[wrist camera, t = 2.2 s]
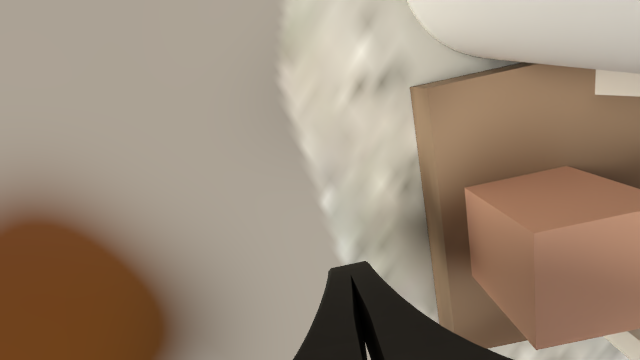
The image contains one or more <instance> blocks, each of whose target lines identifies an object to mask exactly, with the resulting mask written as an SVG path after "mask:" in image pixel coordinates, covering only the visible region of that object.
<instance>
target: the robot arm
mask: <svg viewBox="0 0 640 360" xmlns="http://www.w3.org/2000/svg"><path fill="white" fill-rule="evenodd" d="M365 343H366V346H367V349H368V352H369V354H370V358H371V360H513V359H510V358H507V357H505V356H502V355H500V354H497V353H495V352H493V351H490V350H488V349H486V348H484V347H481V346H479V345H477V344H475V343H473V342H471V341H469V340H467V339H465V338H463V337H461V336H459V335H457V334H455V333H453V332H452V331H450V330H448V329H446V328H444V327H443V326H441V325H439V324H438V323H436V322H435V321H433V320H432V319H430V318H429V317H427V316H426V315H424V314H423V313H422V312H420V311H419V310H417V309H416V308H415V307H414V306H412V305H411V304H410V303H408V302H407V301H406V300H405V299H404V298H402V297H401V296H400V295H399V294H398V293H397V292H396V291H394V290H393V289H392V288H391V287H390V286H389V285H388V284H387V283H386V282H385V281H384V280H383V279H382V278H381V277H380V276H379V275H378V274H377V273H376V272H375V270H374V269H373V268H372V267H371V265H370V264H369V263H368V262H366V261H363V262H359V263H354V264H349V265H345V266H340V267H335V268H331V269H330V271H329V272H328V279H327V284H326V288H325V291H324V294H323V298H322V300H321V303H320V306H319V309H318V312H317V314H316V316H315V319H314V321H313V323H312V326H311V328H310V330H309V332H308V334H307V336H306V338H305V340H304V342H303V343H302V345H301V347H300V349H299V351H298V352H297V354H296V356H295V357H294V359H293V360H367V354H366V346H365Z"/></svg>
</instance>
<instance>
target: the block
mask: <svg viewBox="0 0 640 360" xmlns="http://www.w3.org/2000/svg"><path fill="white" fill-rule="evenodd" d="M465 199H466V211H467V223H468V235H469V246H470V258H471V270H472V276H473V278H474V279H475V280H476V281H477V282H478V283H479V284H480V286H481V287H482V288H483V289H484V290H485V291H486V293H487V294H488V295H489V296H490V297H491V298H492V299H493V301H494V302H495V303H496V304H497V305H498V306H499V308H500V309H501V310H502V311H503V312H504V313H505V314H506V316H507V317H508V318H509V319H510V320H511V321H512V323H513V324H514V325H515V326H516V327H517V328H518V329H519V331H520V332H521V333H522V334H523V335H524V336H525V338H526V339H527V340H528V341H529V342H530V343H531V344H532V346H533V347H534V348H535V349H536V350H538V349H543V348H548V347H553V346H557V345H562V344H567V343H572V342H577V341H582V340H587V339H591V338H596V337H601V336H606V335H611V334H616V333H621V332H625V331H630V330H635V329H640V189H638V188H635V187H632V186H628V185H625V184H622V183H619V182H616V181H613V180H610V179H606V178H603V177H600V176H597V175H594V174H591V173H588V172H585V171H581V170H578V169H575V168H572V167H569V166H564V167H559V168H555V169H550V170H545V171H541V172H536V173H531V174H526V175H522V176H517V177H512V178H508V179H503V180H498V181H494V182H489V183H484V184H480V185H475V186H470V187H466V188H465Z"/></svg>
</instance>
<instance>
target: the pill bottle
mask: <svg viewBox="0 0 640 360" xmlns="http://www.w3.org/2000/svg"><path fill="white" fill-rule="evenodd" d="M407 2H408V4H409V7H410V8H411V10H412V12H413V14H414V15H415V17H416V18H417V20H418V21H419V23H420V24H421V25H422V26H423V28H424V29H425V30H426V31H427V32H428V33H429V34H430V35H431V36H433V37H434V38H435V39H436V40H438V41H439V42H440V43H442V44H444V45H445V46H447V47H449V48H451V49H453V50H456V51H458V52H461V53H464V54H467V55H470V56H474V57H479V58H487V59H497V60H507V61H517V62H527V63H537V64H547V65H556V66H566V67H576V68H586V69H596V70H606V71H616V72H626V73H636V74H640V0H407Z"/></svg>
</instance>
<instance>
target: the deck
mask: <svg viewBox="0 0 640 360" xmlns="http://www.w3.org/2000/svg"><path fill="white" fill-rule="evenodd" d="M595 78H596V69H586V68H576V67H566V66H556V65H547V64H537V63H527V62H523V63H519V64H514V65H509V66H505V67H500V68H496V69H491V70H487V71H482V72H478V73H473V74H468V75H464V76H459V77H455V78H450V79H446V80H441V81H436V82H432V83H427V84H423V85H418V86H414V87H410V91H411V99H412V107H413V115H414V124H415V132H416V140H417V148H418V156H419V164H420V172H421V180H422V188H423V196H424V204H425V212H426V220H427V228H428V236H429V244H430V252H431V260H432V268H433V276H434V284H435V292H436V300H437V308H438V316H439V324H440V325H441V326H443V327H444V328H446V329H448V330H450V331H452V332H453V333H455V334H457V335H459V336H461V337H463V338H465V339H467V340H469V341H471V342H473V343H475V344H477V345H479V346H481V347H484V348H486V349H487V348H492V347H497V346H502V345H507V344H512V343H516V342H521V341H526V340H527V339H526V338H525V336H524V335H523V334H522V333H521V332H520V331H519V329H518V328H517V327H516V326H515V325H514V324H513V323H512V321H511V320H510V319H509V318H508V317H507V316H506V314H505V313H504V312H503V311H502V310H501V309H500V308H499V306H498V305H497V304H496V303H495V302H494V301H493V299H492V298H491V297H490V296H489V295H488V294H487V293H486V291H485V290H484V289H483V288H482V287H481V286H480V284H479V283H478V282H477V281H476V280H475V279H474V278H473V276H472V270H471V258H470V246H469V235H468V223H467V211H466V199H465V188H466V187H470V186H475V185H480V184H484V183H489V182H494V181H498V180H503V179H508V178H512V177H517V176H522V175H526V174H531V173H536V172H541V171H545V170H550V169H555V168H559V167H564V166H569V167H572V168H575V169H578V170H581V171H585V172H588V173H591V174H594V175H597V176H600V177H603V178H606V179H610V180H613V181H616V182H619V183H622V184H625V185H628V186H632V187H635V188H638V189H640V97H638V96H615V95H595Z"/></svg>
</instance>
